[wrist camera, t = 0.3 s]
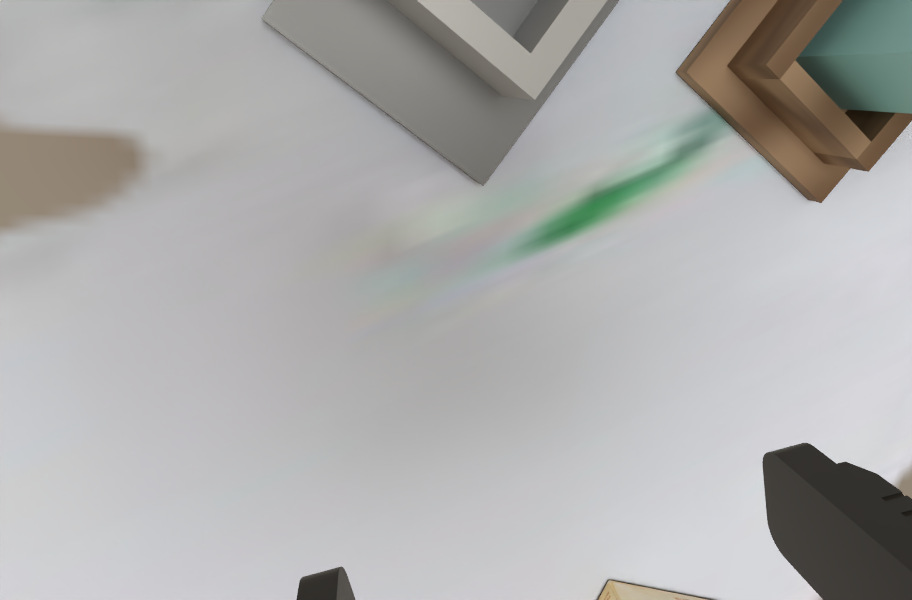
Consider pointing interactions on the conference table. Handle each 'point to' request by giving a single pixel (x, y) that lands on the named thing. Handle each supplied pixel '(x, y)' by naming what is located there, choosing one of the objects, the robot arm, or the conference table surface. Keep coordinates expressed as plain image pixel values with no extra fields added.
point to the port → (448, 62)
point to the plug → (864, 56)
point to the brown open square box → (785, 94)
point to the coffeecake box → (638, 593)
